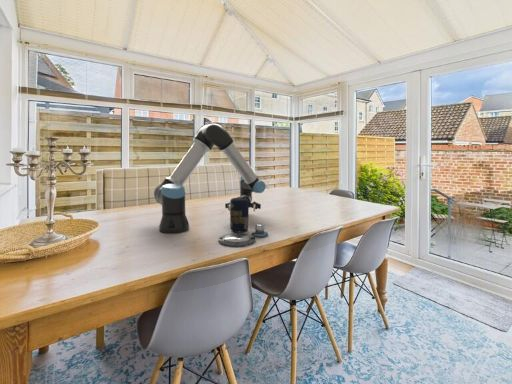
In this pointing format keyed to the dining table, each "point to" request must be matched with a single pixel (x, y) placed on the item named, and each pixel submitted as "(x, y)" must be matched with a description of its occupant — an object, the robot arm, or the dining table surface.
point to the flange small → (259, 231)
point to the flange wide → (236, 240)
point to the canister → (239, 214)
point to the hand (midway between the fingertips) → (241, 208)
